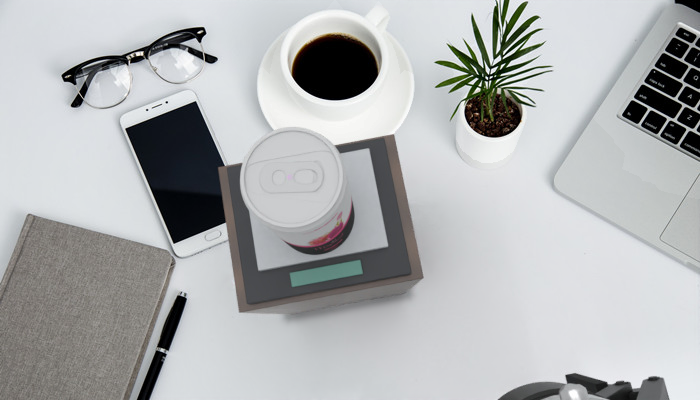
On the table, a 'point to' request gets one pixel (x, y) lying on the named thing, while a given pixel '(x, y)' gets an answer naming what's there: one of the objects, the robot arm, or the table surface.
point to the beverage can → (299, 189)
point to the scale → (345, 261)
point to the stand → (338, 294)
